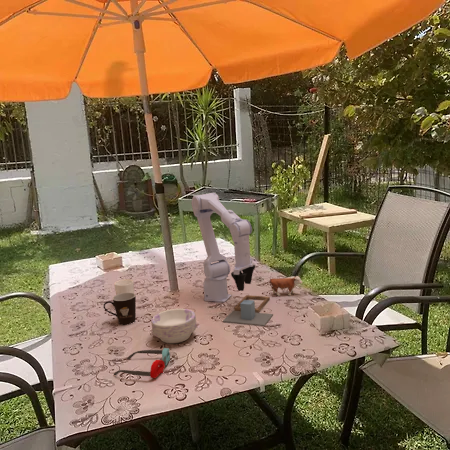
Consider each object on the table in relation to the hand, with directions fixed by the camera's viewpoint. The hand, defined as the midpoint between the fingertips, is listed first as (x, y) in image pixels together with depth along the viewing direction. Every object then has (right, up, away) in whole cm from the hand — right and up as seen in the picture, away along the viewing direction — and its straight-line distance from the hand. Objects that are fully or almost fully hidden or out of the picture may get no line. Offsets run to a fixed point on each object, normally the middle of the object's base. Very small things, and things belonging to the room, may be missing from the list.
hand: (244, 286), depth 179 cm
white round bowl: (-25, -16, -17) cm, 33 cm away
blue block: (+1, -11, -6) cm, 12 cm away
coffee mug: (-46, -13, +1) cm, 48 cm away
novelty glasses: (-32, -21, -36) cm, 52 cm away
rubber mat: (+1, -11, -5) cm, 12 cm away
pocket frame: (+3, -8, +7) cm, 11 cm away
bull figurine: (+18, -6, +16) cm, 25 cm away
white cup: (-49, -10, +18) cm, 53 cm away
